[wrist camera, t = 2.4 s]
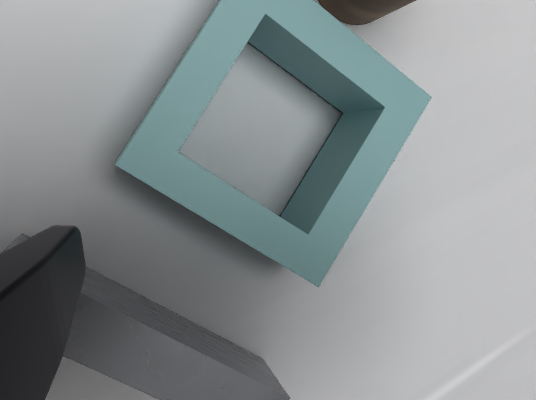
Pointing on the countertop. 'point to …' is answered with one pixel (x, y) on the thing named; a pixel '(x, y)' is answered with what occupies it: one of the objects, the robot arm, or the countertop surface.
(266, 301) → the countertop surface
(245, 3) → the teal square frame
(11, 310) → the robot arm
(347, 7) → the dowel
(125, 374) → the bar
